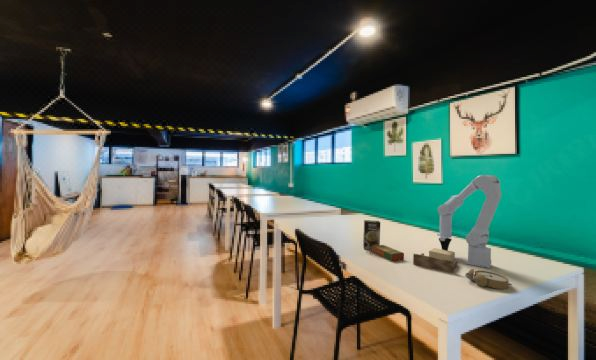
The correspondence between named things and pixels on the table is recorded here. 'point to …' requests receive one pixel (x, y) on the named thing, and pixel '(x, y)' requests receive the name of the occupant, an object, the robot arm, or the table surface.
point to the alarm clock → (488, 279)
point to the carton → (387, 253)
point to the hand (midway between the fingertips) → (444, 251)
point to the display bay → (434, 262)
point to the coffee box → (371, 234)
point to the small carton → (442, 254)
